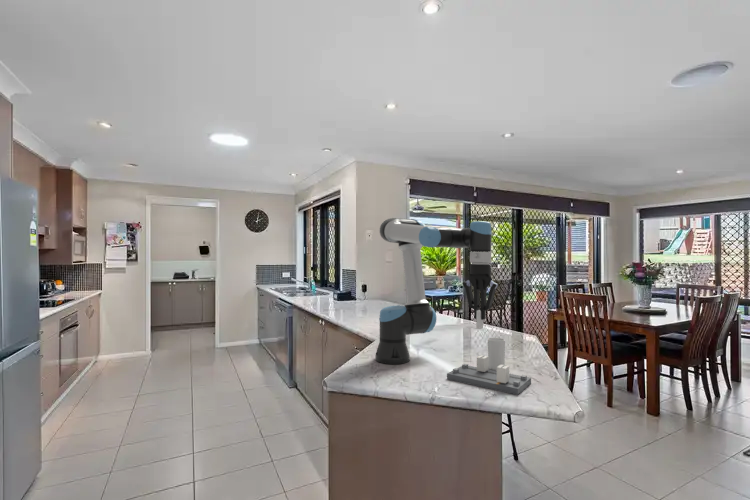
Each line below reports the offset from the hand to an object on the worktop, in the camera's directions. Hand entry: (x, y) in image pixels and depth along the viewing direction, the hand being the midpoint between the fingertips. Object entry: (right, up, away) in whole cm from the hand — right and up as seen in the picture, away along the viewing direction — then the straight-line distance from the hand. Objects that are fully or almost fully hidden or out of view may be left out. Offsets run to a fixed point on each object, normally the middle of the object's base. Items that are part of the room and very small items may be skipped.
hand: (479, 328), depth 137 cm
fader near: (+6, -17, -6) cm, 20 cm away
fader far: (+3, -18, +7) cm, 19 cm away
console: (+3, -20, +1) cm, 20 cm away
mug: (+12, -20, +18) cm, 30 cm away
